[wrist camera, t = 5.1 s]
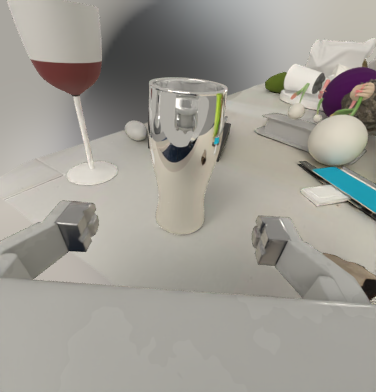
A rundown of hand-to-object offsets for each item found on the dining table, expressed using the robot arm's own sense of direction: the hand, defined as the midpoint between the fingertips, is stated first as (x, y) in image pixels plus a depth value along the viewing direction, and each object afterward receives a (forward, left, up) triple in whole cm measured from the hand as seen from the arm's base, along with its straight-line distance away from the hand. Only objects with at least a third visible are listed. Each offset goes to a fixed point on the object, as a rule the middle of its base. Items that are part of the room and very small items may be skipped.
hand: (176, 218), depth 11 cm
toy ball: (+38, +72, -2) cm, 81 cm away
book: (+18, +49, -11) cm, 53 cm away
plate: (+28, +98, -11) cm, 102 cm away
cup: (+27, +97, -4) cm, 101 cm away
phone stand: (+19, +25, -11) cm, 33 cm away
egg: (-19, +32, -11) cm, 38 cm away
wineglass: (-19, +17, -11) cm, 28 cm away
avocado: (+7, +110, -8) cm, 110 cm away
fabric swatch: (+47, +112, -1) cm, 122 cm away
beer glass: (-3, +12, -11) cm, 16 cm away
